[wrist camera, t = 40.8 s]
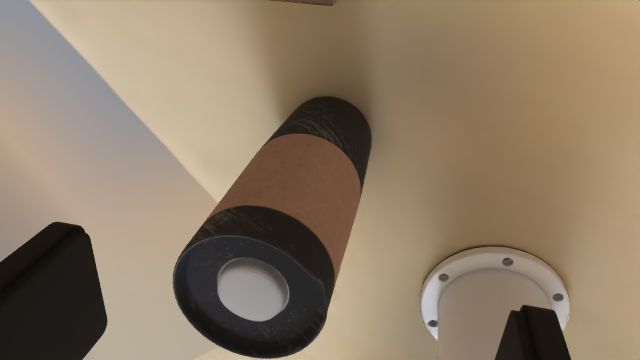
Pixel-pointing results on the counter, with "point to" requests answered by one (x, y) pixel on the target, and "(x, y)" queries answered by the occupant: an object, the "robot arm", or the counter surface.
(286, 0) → the cabinet
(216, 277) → the travel mug
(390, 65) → the counter surface
